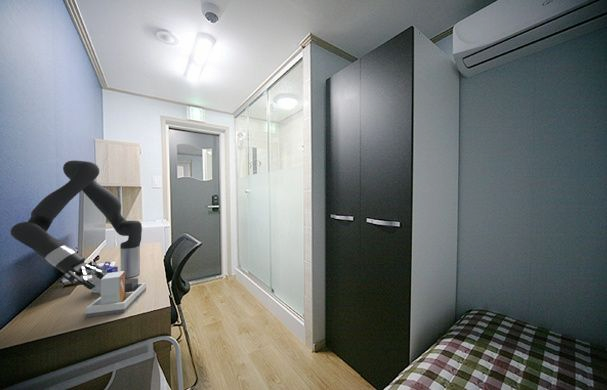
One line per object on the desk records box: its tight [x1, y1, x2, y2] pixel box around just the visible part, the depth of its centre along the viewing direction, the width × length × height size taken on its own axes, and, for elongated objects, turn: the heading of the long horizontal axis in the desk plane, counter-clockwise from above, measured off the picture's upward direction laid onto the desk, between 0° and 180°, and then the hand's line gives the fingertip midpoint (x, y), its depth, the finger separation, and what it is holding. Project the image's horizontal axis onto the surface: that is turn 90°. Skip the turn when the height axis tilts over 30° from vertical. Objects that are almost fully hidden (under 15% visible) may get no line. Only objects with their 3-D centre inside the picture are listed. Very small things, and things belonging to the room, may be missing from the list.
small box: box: [100, 271, 126, 305], centre depth 92 cm, size 8×6×13 cm
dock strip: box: [85, 277, 147, 318], centre depth 97 cm, size 21×13×8 cm, turn 16°
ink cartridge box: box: [91, 261, 119, 294], centre depth 108 cm, size 10×6×14 cm, turn 78°
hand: (99, 283), depth 91 cm, fingers open, 8 cm apart
